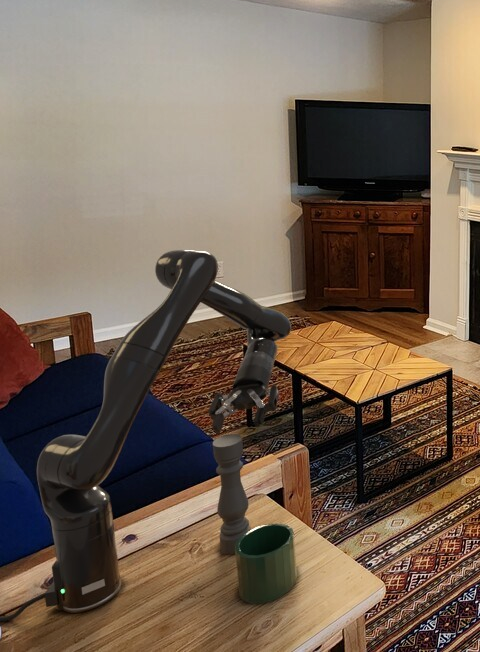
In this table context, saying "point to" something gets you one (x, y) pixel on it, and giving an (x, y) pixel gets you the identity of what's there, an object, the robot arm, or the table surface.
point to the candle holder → (231, 491)
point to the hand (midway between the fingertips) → (236, 427)
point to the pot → (266, 563)
